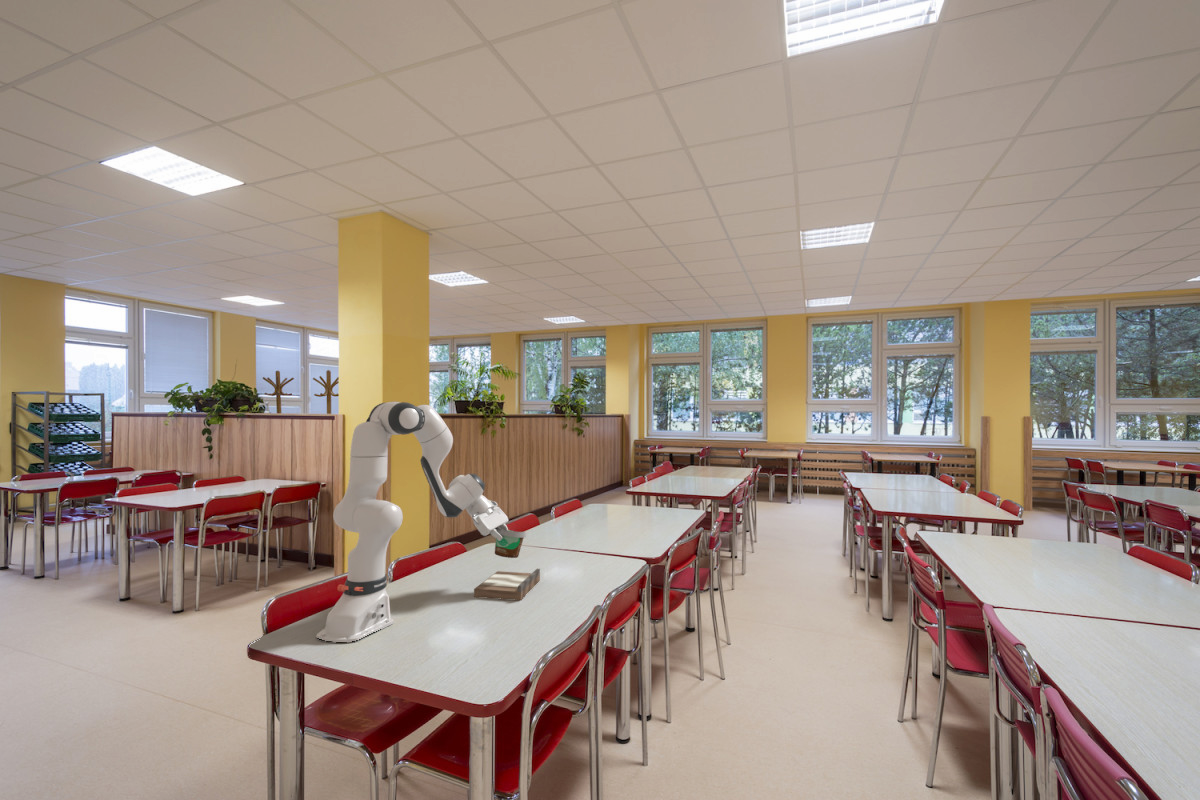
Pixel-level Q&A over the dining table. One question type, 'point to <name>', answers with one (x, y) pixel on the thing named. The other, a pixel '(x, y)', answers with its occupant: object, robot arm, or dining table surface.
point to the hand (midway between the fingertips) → (505, 537)
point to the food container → (509, 543)
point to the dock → (508, 585)
